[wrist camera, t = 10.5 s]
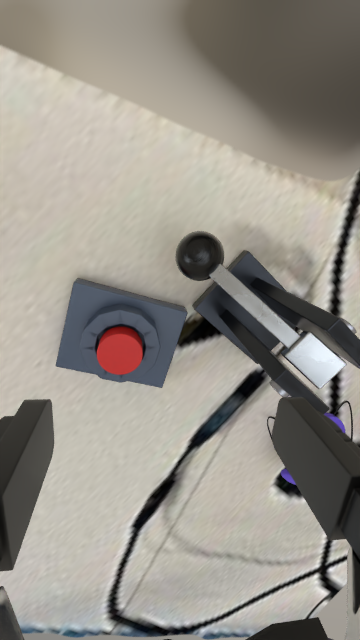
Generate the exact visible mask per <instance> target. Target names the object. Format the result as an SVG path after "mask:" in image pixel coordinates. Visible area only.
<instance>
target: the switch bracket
mask: <svg viewBox="0 0 360 640" xmlns="http://www.w3.org/2000/svg"><path fill="white" fill-rule="evenodd" d="M227 270H228V271H229V272H230V273H231V274H232V275H234V276H235V277H236V278H237V279H238V280H239V281H240V282H241V283H242V284H244V285H245V286H246V287H247V288H248V289H249V290H250V291H251V292H252V293H254V294H255V295H256V296H257V297H258V298H259V299H260V300H261V301H262V302H264V303H265V304H266V305H267V306H268V307H269V308H270V309H271V310H272V311H273V312H275V313H276V314H277V315H278V316H279V317H280V318H281V319H282V320H283V321H285V322H286V323H287V324H288V325H289V326H290V327H291V328H292V329H294V328H295V327H296V326H297V327H298V328H300V329H301V330H303V331H311V332H312V333H313V334H314V335H315V336H317V337H318V338H319V339H320V340H321V341H322V342H323V343H324V344H326V345H327V346H328V347H329V348H330V349H331V350H332V351H334V352H335V353H337V354H338V355H340V356H341V357H343V358H344V359H346V360H347V361H349V362H350V363H352V364H353V365H355V366H356V367H358V368H359V369H360V340H359V338H358V337H357V336H356V335H355V333H356V330H355V328H354V327H353V326H352V325H351V324H350V323H348V322H347V321H346V320H344V319H342V318H340V317H337V316H335V315H333V314H331V313H329V312H327V311H325V310H323V309H321V308H319V307H317V306H315V305H313V304H311V303H309V302H307V301H304V300H302V299H300V298H298V297H296V296H294V295H292V294H290V293H288V292H287V291H286V290H285V289H284V288H283V287H282V286H281V285H280V284H279V283H278V282H277V281H276V280H275V279H274V278H273V277H272V275H271V274H270V273H269V272H268V271H267V270H266V269H265V268H264V267H263V266H262V265H261V264H260V263H259V262H258V261H257V260H256V259H255V258H254V257H253V255H252V254H251V253H250V252H248V251H245V250H244V251H243V252H242V253H241V254H240V255H239V256H238V257H237V258H236V259H235V261H234V262H233V263H232V264H231V265H230V266H229V267H228V268H227ZM193 307H194V309H195V310H196V311H197V312H198V313H199V314H201V315H202V316H203V317H204V318H205V319H206V320H207V321H209V322H210V323H211V324H212V325H213V326H214V327H215V328H217V329H218V330H219V331H220V332H221V333H222V334H223V335H225V336H226V337H227V338H228V339H229V340H230V341H231V342H233V343H234V344H235V345H236V346H237V347H238V348H239V349H241V350H242V351H243V352H244V353H245V354H246V355H247V356H249V357H250V358H251V359H252V360H253V361H254V362H255V363H257V364H258V363H259V364H260V366H261V367H262V368H263V369H264V370H265V371H266V373H267V374H268V375H269V376H270V377H271V379H272V380H271V381H270V382H269V383H270V385H271V386H272V387H273V388H274V389H275V390H276V391H277V392H278V393H279V394H280V395H281V396H282V397H288V396H289V395H290V396H291V397H303V398H305V399H306V400H307V401H308V402H309V403H310V404H311V405H312V407H313V408H314V409H315V410H316V411H319V412H321V413H322V414H325V413H326V412H327V411H328V410H329V407H328V406H327V405H326V404H325V403H324V402H323V401H322V400H321V399H320V398H319V397H318V396H317V395H316V394H314V393H313V392H312V391H311V390H310V389H309V388H308V387H307V386H306V385H305V384H304V383H303V382H302V381H301V380H300V379H299V378H298V377H297V376H296V375H295V374H294V373H293V372H292V371H291V370H290V369H289V368H288V367H287V366H286V365H285V364H284V363H283V362H282V361H281V360H280V359H279V358H278V357H277V356H276V355H275V354H274V353H273V352H272V351H271V350H272V349H273V348H274V347H275V346H276V345H277V344H278V343H279V342H280V341H279V340H278V339H277V338H276V337H274V336H273V335H272V334H271V333H270V332H269V331H268V330H267V329H266V328H265V327H264V326H263V325H261V324H260V323H259V322H258V321H257V320H256V319H255V318H254V317H253V316H252V315H251V314H250V313H248V312H247V311H246V310H245V309H244V308H243V307H242V306H241V305H240V304H239V303H238V302H237V301H236V300H234V299H233V298H232V297H231V296H230V295H229V294H228V293H227V292H226V291H225V290H224V289H223V288H221V287H220V286H219V285H218V284H217V283H216V282H214V283H213V284H212V285H211V286H210V287H209V288H208V290H207V291H206V292H205V293H204V294H203V295H202V296H201V297H200V298H199V299H198V300H197V301H196V302H195V303H194V305H193Z"/></svg>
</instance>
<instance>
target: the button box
mask: <svg viewBox="0 0 360 640" xmlns="http://www.w3.org/2000/svg"><path fill="white" fill-rule="evenodd" d="M186 316H187V311H186V309H185V307H182V306H178V305H175V304H171V303H167V302H164V301H160V300H156V299H153V298H149V297H145V296H142V295H138V294H134V293H131V292H127V291H123V290H120V289H116V288H112V287H109V286H105V285H101V284H98V283H94V282H90V281H87V280H83V279H79V278H77V279H76V281H75V282H74V284H73V288H72V293H71V297H70V302H69V307H68V311H67V316H66V320H65V325H64V330H63V334H62V339H61V343H60V348H59V353H58V357H57V362H56V366H57V367H62V368H66V369H71V370H76V371H81V372H86V373H91V374H96V375H98V376H99V377H100V378H102V379H106V380H111V381H116V382H125V381H131V382H136V383H141V384H146V385H151V386H156V387H161V388H162V387H163V384H164V381H165V378H166V375H167V372H168V369H169V366H170V363H171V360H172V357H173V354H174V351H175V348H176V345H177V342H178V339H179V336H180V333H181V331H182V328H183V325H184V322H185V319H186ZM118 326H123V327H128V328H130V329H132V330H134V331H135V332H136V333H137V334H138V335H139V336H140V338H141V341H142V349H143V357H142V361H141V363H140V365H139V366H138V367H137V368H136V369H135V370H133V371H132V372H130V373H127V374H122V375H117V374H112V373H110V372H108V371H106V370H105V369H103V368H102V367H101V365H100V364H99V362H98V359H97V349H98V346H99V342H100V339H101V337H102V335H103V334H104V333H105V332H106V331H107V330H109V329H111V328H114V327H118Z"/></svg>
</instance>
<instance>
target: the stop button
mask: <svg viewBox="0 0 360 640" xmlns="http://www.w3.org/2000/svg"><path fill="white" fill-rule="evenodd" d="M142 357H143V349H142V341H141V338H140V336H139V335H138V334H137V333H136V332H135V331H134V330H132V329H130V328H128V327H123V326H118V327H114V328H111V329H109V330H107V331H106V332H105V333H104V334H103V335H102V337H101V339H100V342H99V346H98V349H97V359H98V362H99V364H100V365H101V367H102V368H103V369H105V370H106V371H108V372H110V373H112V374H117V375H122V374H127V373H130V372H132V371H133V370H135V369H136V368H137V367H138V366H139V365H140V363H141V361H142Z"/></svg>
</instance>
